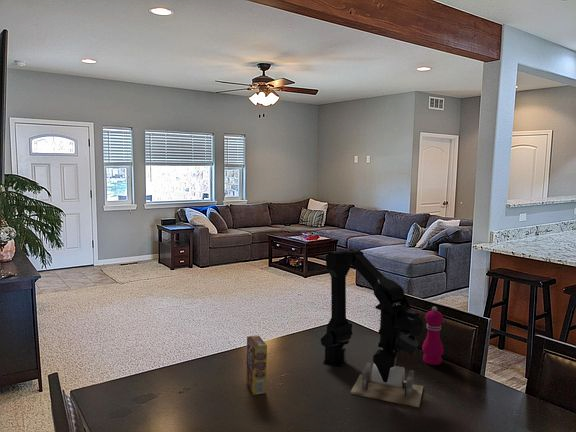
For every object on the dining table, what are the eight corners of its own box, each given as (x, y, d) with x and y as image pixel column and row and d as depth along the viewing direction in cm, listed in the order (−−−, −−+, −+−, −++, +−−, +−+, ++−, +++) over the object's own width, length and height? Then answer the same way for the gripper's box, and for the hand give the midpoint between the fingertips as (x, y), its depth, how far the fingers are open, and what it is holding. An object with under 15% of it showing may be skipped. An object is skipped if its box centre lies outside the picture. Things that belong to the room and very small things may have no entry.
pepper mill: (440, 357, 163) (442, 303, 161) (445, 366, 156) (447, 310, 154) (419, 356, 164) (422, 303, 161) (423, 365, 156) (426, 309, 154)
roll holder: (350, 393, 136) (351, 373, 136) (359, 376, 147) (360, 357, 147) (419, 407, 129) (419, 385, 128) (423, 388, 140) (424, 368, 139)
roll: (371, 385, 137) (371, 366, 136) (375, 377, 142) (375, 359, 142) (401, 391, 133) (402, 372, 133) (404, 382, 139) (404, 364, 138)
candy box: (267, 393, 136) (267, 345, 134) (253, 395, 134) (253, 346, 133) (259, 380, 144) (259, 334, 143) (246, 382, 143) (245, 336, 141)
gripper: (413, 341, 124) (411, 394, 126) (420, 320, 141) (418, 367, 143) (373, 335, 128) (371, 387, 130) (384, 315, 146) (383, 361, 147)
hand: (388, 375), depth 137 cm, fingers open, 9 cm apart
